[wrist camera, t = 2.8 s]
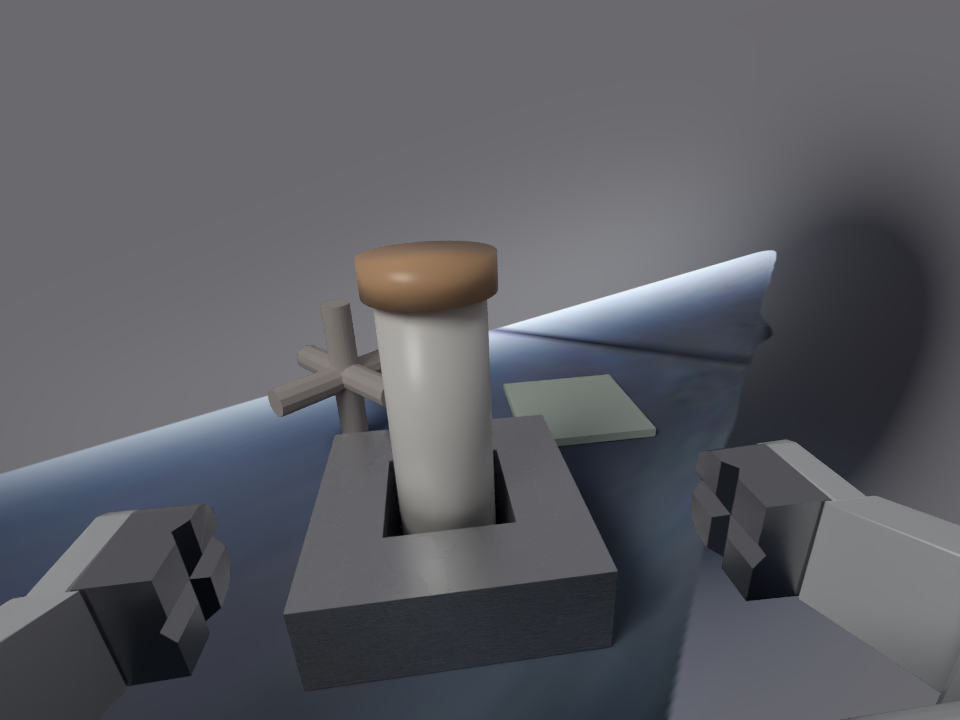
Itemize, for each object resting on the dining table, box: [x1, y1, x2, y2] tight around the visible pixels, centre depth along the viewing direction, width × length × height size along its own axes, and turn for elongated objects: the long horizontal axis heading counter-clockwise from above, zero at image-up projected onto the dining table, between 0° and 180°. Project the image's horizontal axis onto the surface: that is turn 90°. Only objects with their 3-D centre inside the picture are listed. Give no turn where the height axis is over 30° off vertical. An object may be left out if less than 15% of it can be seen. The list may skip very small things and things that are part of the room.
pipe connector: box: [268, 300, 386, 434], centre depth 33 cm, size 10×10×10 cm
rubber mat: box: [504, 374, 656, 446], centre depth 38 cm, size 9×9×1 cm
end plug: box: [354, 241, 498, 535], centre depth 22 cm, size 5×5×15 cm
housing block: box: [283, 414, 618, 691], centre depth 24 cm, size 12×12×4 cm
